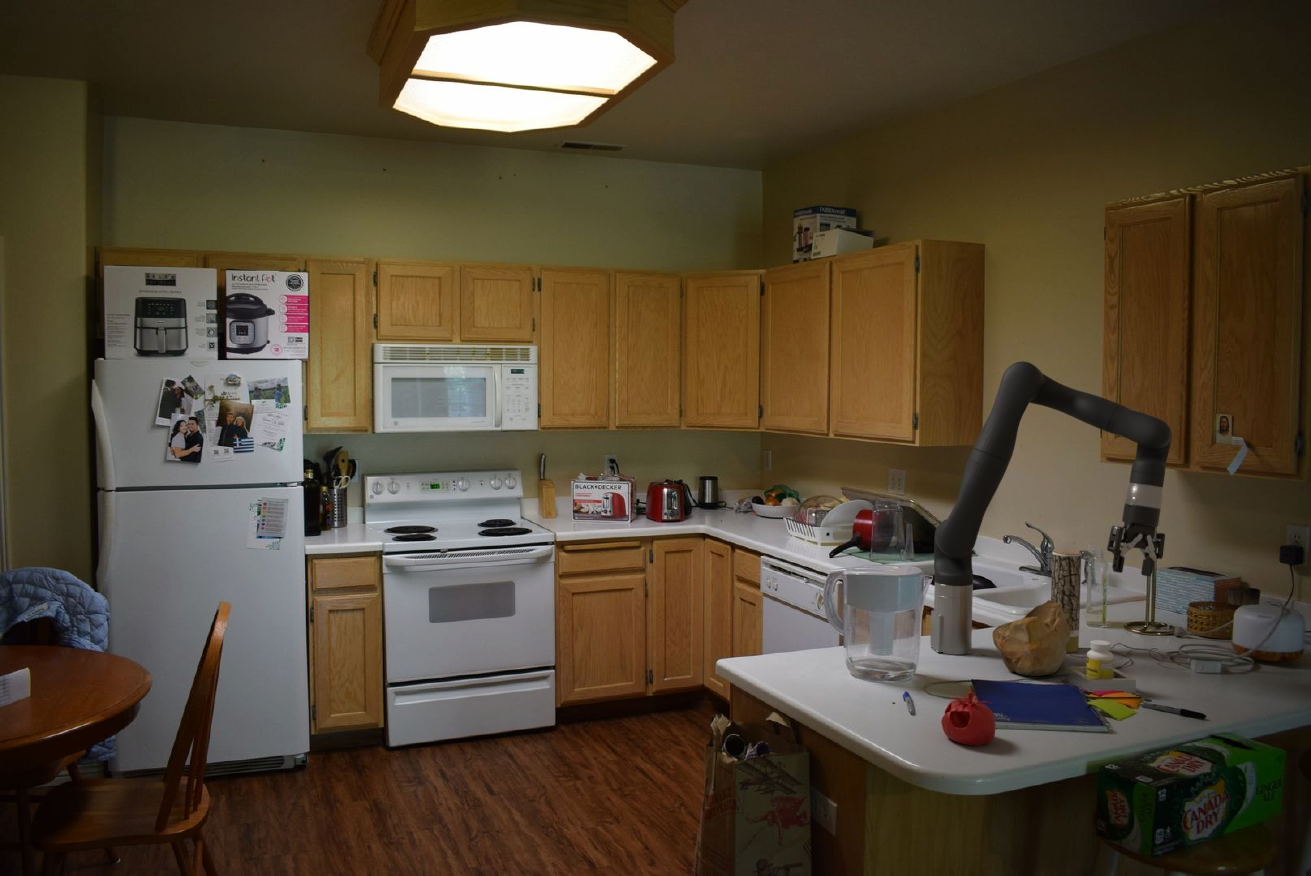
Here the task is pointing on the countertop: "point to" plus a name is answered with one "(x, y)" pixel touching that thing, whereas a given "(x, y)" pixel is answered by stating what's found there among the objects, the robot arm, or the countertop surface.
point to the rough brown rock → (1034, 641)
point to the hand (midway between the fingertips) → (1131, 574)
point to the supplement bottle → (1099, 660)
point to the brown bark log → (1067, 590)
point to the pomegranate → (969, 721)
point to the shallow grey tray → (1099, 681)
